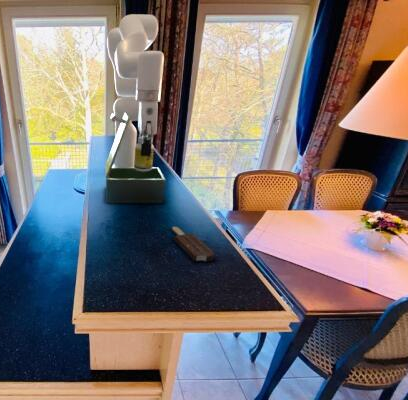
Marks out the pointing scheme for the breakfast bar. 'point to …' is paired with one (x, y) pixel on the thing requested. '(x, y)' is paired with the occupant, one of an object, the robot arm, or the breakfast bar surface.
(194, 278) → the breakfast bar surface
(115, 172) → the bin
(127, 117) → the bin lid
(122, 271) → the breakfast bar surface
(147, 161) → the pill bottle
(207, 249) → the ice cream bar
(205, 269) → the breakfast bar surface
